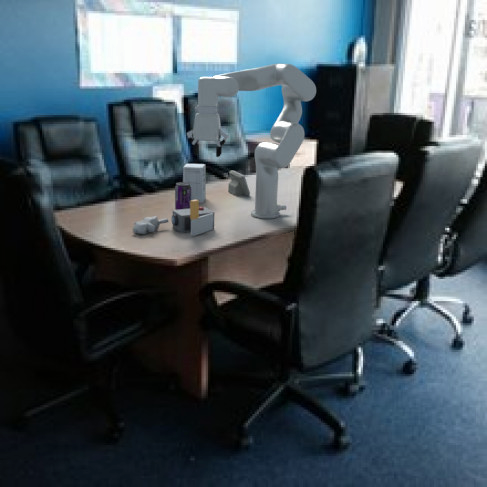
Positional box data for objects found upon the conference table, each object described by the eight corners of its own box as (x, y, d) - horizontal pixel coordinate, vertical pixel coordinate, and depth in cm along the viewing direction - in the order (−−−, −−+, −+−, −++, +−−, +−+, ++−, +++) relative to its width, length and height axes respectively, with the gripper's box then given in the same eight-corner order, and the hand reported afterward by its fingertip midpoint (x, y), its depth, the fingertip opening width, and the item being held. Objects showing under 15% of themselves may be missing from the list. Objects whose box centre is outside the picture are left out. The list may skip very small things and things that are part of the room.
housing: (204, 223, 236) (204, 205, 234) (214, 229, 228) (214, 210, 226) (169, 227, 229) (169, 208, 227) (178, 233, 221) (178, 214, 219)
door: (212, 228, 228) (212, 195, 224) (215, 229, 227) (215, 195, 223) (190, 235, 218) (190, 200, 214) (193, 236, 217) (193, 201, 213)
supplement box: (206, 198, 277) (206, 164, 272) (202, 203, 268) (203, 167, 263) (186, 197, 278) (186, 163, 273) (182, 202, 269) (182, 166, 264)
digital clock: (250, 196, 284) (251, 175, 281) (232, 197, 282) (233, 175, 279) (243, 189, 299) (244, 169, 296) (226, 189, 297) (227, 169, 294)
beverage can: (188, 212, 251) (188, 185, 247) (173, 211, 252) (172, 184, 249) (193, 209, 258) (193, 182, 254) (178, 207, 259) (177, 181, 255)
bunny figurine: (126, 223, 219) (151, 210, 231) (128, 235, 221) (152, 222, 233) (145, 227, 214) (170, 214, 226) (147, 240, 216) (171, 226, 228)
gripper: (183, 110, 219) (183, 155, 225) (226, 112, 215) (225, 158, 220) (190, 108, 226) (190, 152, 232) (232, 111, 221) (231, 155, 227)
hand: (207, 155), depth 226 cm, fingers open, 8 cm apart
